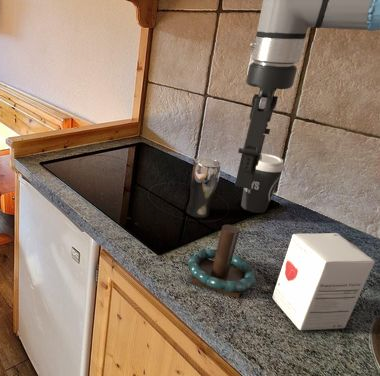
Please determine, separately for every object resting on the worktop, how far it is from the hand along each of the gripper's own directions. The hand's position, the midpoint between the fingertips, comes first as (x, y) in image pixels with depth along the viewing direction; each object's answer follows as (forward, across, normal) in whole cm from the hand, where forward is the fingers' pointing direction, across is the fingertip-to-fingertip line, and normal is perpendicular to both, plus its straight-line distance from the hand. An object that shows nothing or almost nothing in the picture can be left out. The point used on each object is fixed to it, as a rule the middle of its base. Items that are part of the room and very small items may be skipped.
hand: (247, 174), depth 80 cm
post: (+22, +6, 0) cm, 22 cm away
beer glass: (+22, -22, -10) cm, 33 cm away
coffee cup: (+22, -34, +2) cm, 41 cm away
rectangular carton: (+22, +8, +16) cm, 28 cm away
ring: (+20, +5, 0) cm, 20 cm away
